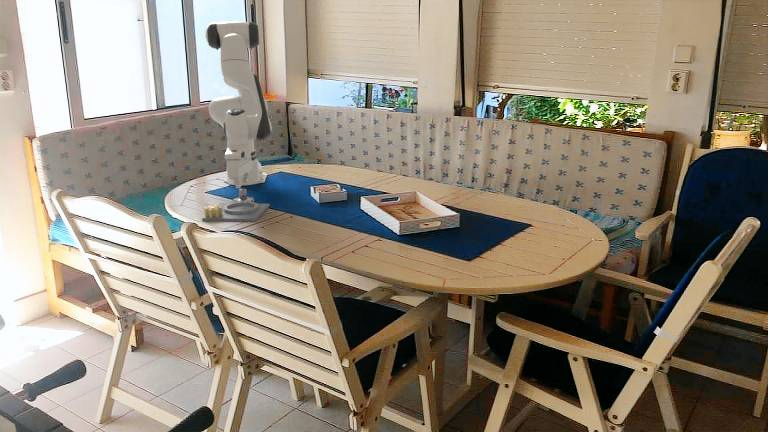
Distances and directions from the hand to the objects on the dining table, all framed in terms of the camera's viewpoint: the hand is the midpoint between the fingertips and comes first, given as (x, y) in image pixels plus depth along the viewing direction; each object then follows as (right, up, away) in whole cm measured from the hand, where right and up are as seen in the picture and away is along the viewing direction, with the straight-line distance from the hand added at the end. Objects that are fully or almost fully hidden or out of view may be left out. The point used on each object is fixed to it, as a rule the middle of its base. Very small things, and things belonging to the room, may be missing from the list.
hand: (242, 185), depth 252 cm
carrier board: (+1, -11, -11) cm, 15 cm away
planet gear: (0, -7, +3) cm, 8 cm away
